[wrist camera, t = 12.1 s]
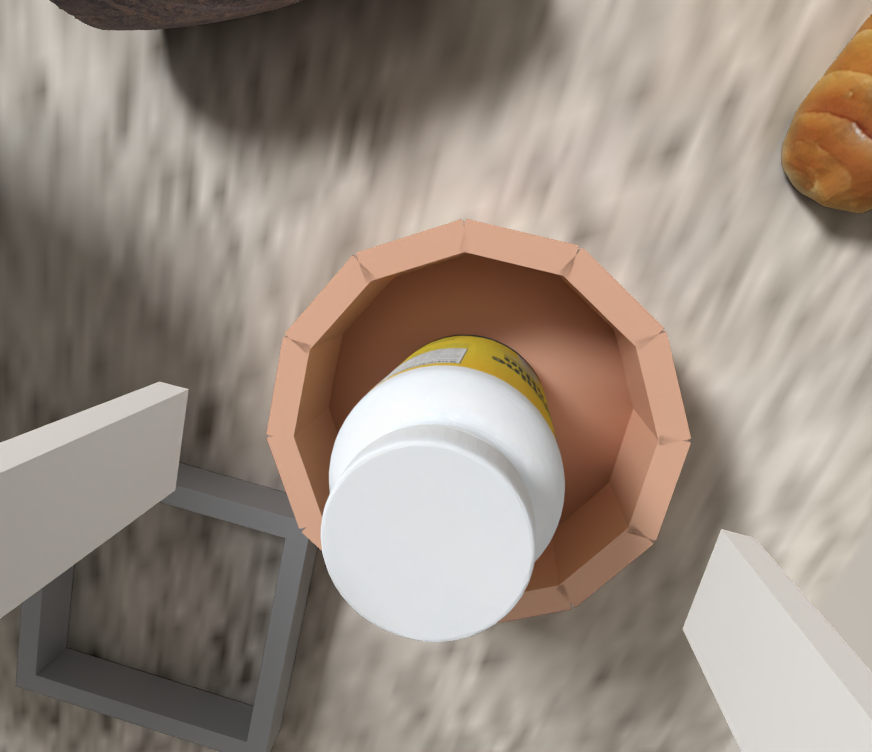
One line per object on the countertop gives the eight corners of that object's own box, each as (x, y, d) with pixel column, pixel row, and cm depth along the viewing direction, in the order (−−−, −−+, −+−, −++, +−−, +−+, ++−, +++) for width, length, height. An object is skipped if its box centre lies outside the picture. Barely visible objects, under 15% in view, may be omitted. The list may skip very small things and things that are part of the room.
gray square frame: (47, 658, 30) (15, 686, 28) (66, 430, 27) (32, 444, 25) (279, 731, 29) (263, 765, 27) (326, 503, 26) (311, 523, 24)
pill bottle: (544, 487, 24) (574, 696, 12) (390, 480, 24) (287, 670, 13) (550, 331, 22) (590, 404, 11) (387, 329, 23) (271, 395, 12)
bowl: (293, 504, 26) (244, 561, 22) (351, 197, 23) (309, 181, 18) (591, 589, 25) (610, 667, 21) (696, 278, 22) (747, 285, 17)
